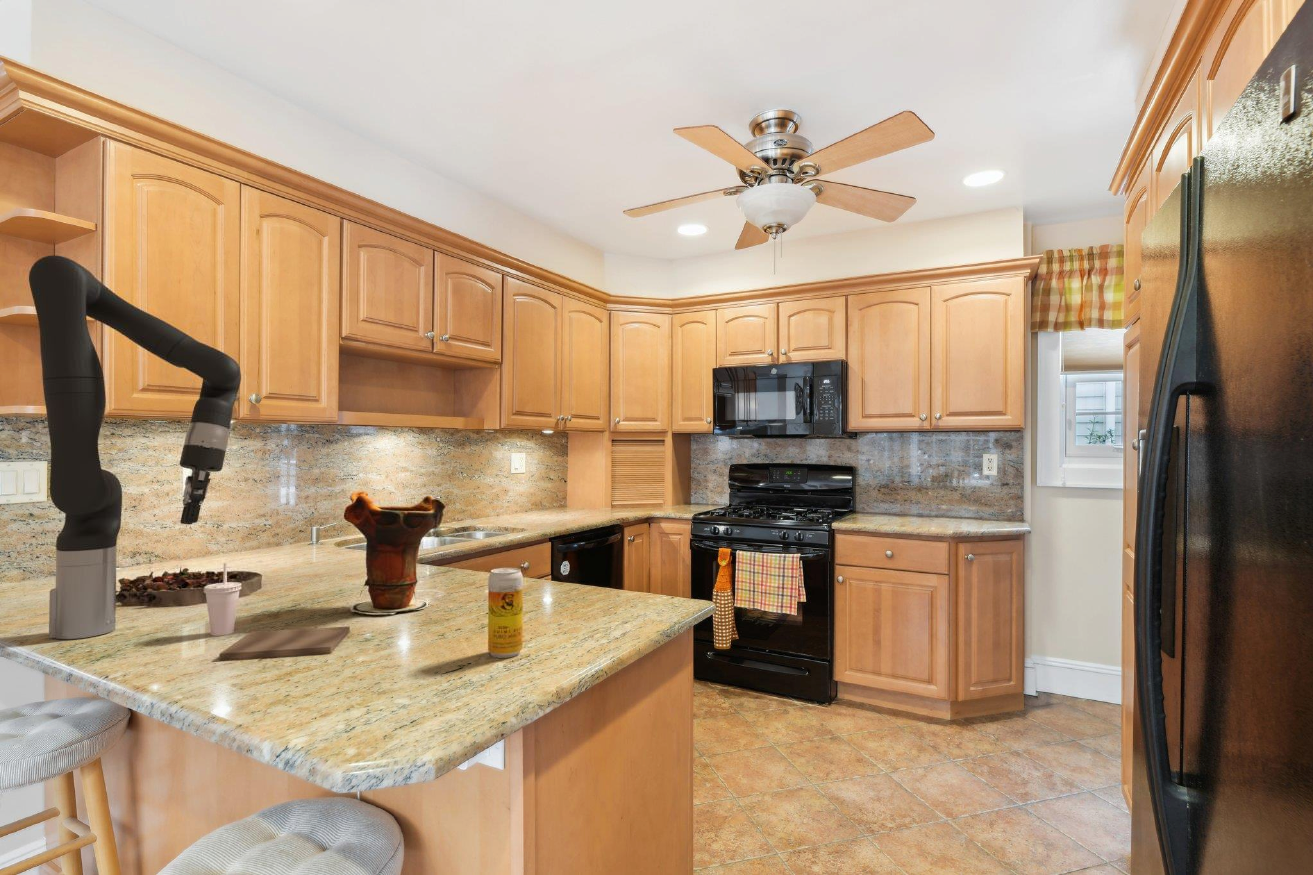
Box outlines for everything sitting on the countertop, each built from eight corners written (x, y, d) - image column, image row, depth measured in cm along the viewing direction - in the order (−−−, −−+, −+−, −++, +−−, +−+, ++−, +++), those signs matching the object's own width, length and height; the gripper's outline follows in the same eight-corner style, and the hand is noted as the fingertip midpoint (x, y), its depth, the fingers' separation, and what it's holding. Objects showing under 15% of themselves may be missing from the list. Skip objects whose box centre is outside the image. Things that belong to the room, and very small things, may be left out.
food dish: (91, 599, 167) (92, 569, 168) (238, 582, 192) (238, 555, 193) (122, 617, 145) (123, 582, 145) (283, 594, 170) (284, 564, 170)
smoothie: (248, 629, 134) (249, 561, 134) (225, 638, 128) (225, 566, 128) (219, 628, 135) (220, 560, 135) (194, 637, 128) (195, 566, 128)
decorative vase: (458, 607, 153) (458, 490, 153) (356, 623, 138) (357, 494, 139) (425, 592, 168) (426, 487, 169) (331, 606, 154) (332, 490, 154)
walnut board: (219, 660, 114) (219, 653, 114) (251, 638, 128) (251, 631, 128) (330, 653, 118) (330, 646, 118) (349, 632, 132) (349, 626, 132)
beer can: (492, 660, 114) (492, 574, 114) (484, 651, 119) (484, 569, 119) (526, 655, 116) (526, 571, 117) (517, 646, 122) (517, 566, 122)
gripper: (180, 448, 141) (163, 522, 138) (187, 439, 131) (168, 519, 127) (221, 454, 146) (205, 526, 142) (230, 445, 135) (214, 523, 131)
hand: (188, 523), depth 135 cm, fingers open, 8 cm apart
